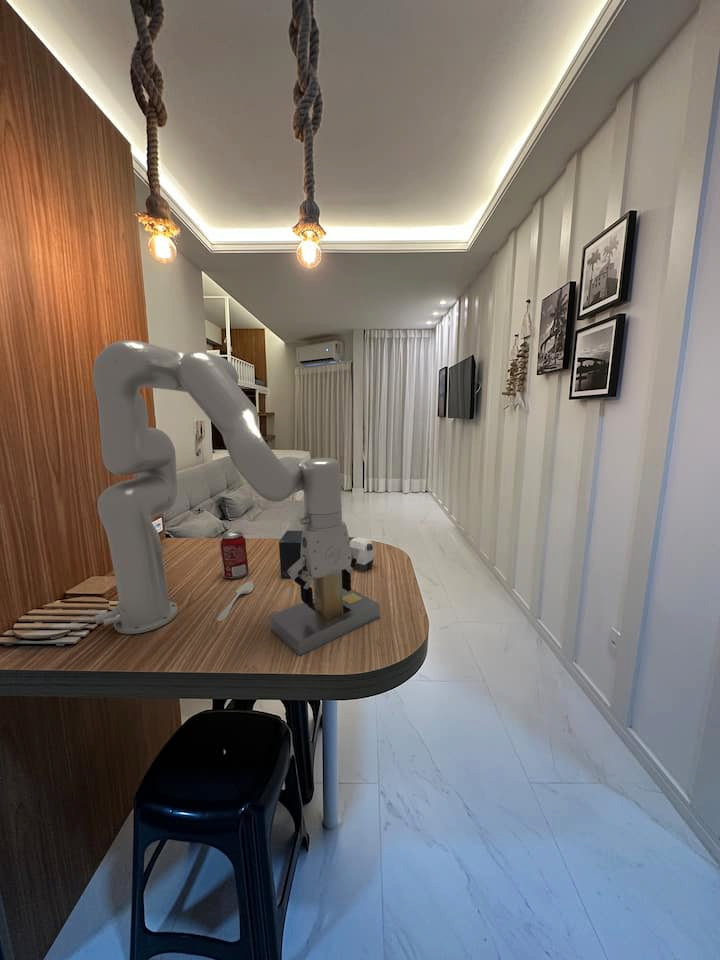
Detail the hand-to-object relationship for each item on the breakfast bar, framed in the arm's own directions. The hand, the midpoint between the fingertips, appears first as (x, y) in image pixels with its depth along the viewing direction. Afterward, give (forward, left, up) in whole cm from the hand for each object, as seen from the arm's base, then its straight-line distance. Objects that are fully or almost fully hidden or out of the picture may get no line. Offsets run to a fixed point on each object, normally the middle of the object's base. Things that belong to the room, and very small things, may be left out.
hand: (327, 596), depth 80 cm
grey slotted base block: (-1, 0, -6) cm, 6 cm away
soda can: (-6, +38, -6) cm, 39 cm away
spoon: (-13, +22, -6) cm, 26 cm away
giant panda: (+22, +20, -6) cm, 30 cm away
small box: (+8, +29, -6) cm, 31 cm away
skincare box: (0, 0, -6) cm, 6 cm away
